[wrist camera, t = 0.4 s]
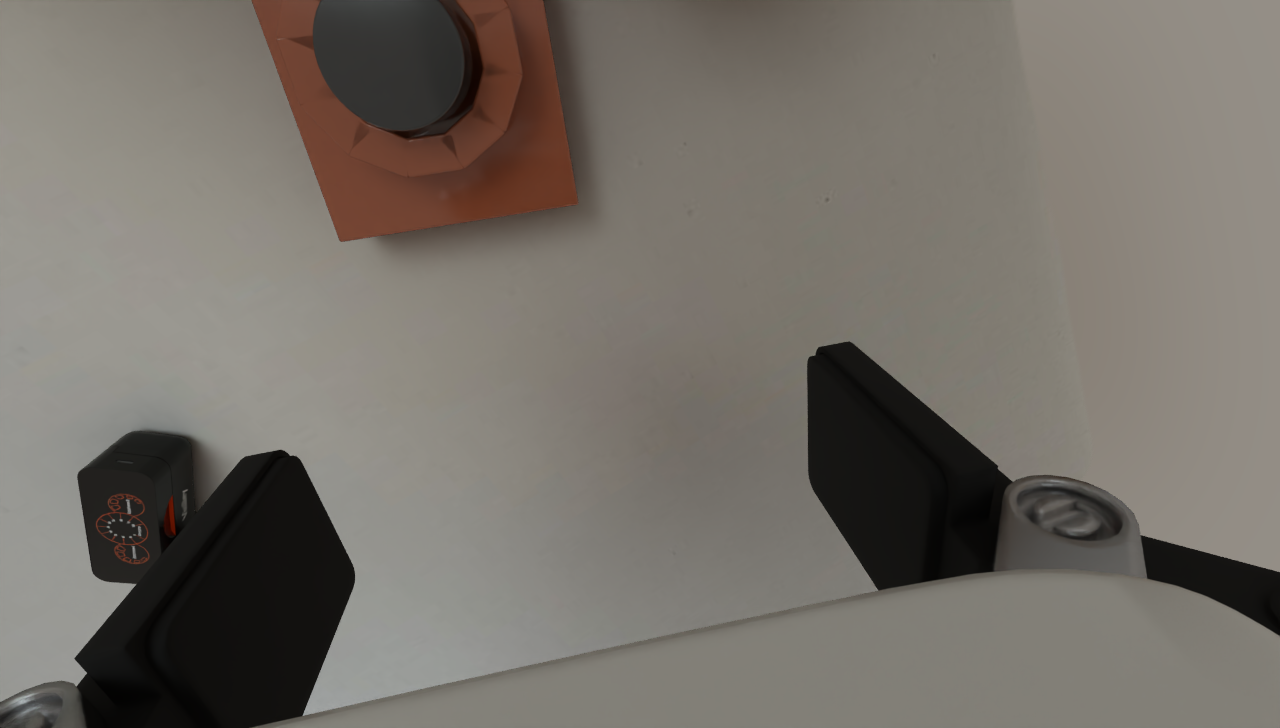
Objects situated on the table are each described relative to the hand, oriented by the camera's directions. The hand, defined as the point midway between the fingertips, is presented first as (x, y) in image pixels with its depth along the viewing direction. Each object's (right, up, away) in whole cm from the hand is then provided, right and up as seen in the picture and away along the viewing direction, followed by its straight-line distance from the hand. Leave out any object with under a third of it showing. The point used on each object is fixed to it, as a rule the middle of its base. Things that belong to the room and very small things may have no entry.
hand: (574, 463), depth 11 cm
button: (-6, +11, +7) cm, 15 cm away
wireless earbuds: (-21, -5, +18) cm, 28 cm away
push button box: (-7, +13, +11) cm, 19 cm away
